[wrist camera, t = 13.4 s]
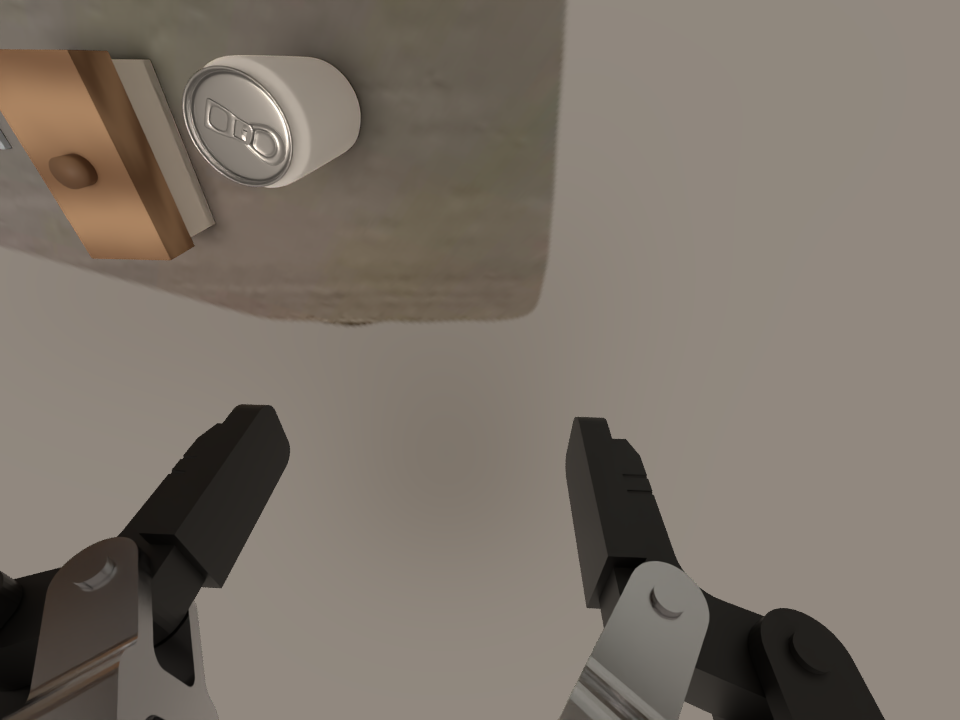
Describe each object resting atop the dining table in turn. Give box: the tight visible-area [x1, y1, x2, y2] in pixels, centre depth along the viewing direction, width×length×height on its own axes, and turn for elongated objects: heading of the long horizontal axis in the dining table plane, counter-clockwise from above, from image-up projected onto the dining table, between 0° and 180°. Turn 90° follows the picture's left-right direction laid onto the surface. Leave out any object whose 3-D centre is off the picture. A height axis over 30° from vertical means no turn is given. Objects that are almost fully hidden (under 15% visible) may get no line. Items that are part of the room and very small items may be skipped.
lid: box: [0, 49, 194, 260], centre depth 28 cm, size 13×6×4 cm, turn 0°
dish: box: [112, 59, 215, 237], centre depth 31 cm, size 12×6×4 cm, turn 0°
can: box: [182, 55, 361, 188], centre depth 26 cm, size 6×6×12 cm
